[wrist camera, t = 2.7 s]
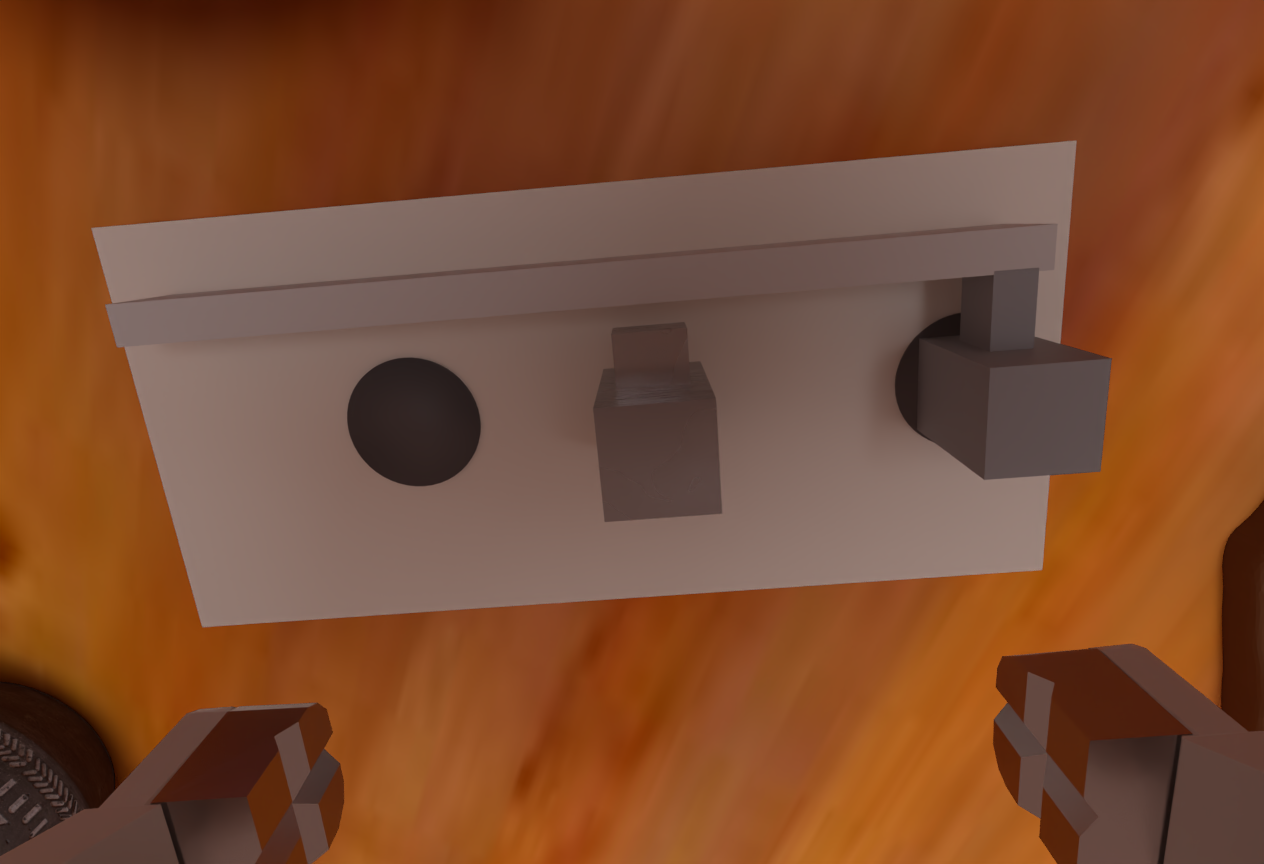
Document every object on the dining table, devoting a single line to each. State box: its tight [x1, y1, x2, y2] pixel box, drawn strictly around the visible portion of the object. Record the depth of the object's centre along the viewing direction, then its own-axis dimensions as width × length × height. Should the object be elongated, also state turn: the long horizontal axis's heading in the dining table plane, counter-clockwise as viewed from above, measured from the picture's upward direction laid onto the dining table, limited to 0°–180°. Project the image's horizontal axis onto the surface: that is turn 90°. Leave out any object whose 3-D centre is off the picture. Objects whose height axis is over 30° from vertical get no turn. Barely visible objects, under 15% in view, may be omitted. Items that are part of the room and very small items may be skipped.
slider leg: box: [593, 322, 722, 522], centre depth 20 cm, size 3×4×5 cm, turn 5°
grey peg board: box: [91, 141, 1112, 627], centre depth 22 cm, size 30×14×7 cm, turn 95°
